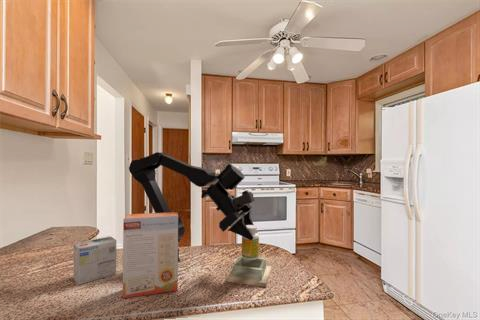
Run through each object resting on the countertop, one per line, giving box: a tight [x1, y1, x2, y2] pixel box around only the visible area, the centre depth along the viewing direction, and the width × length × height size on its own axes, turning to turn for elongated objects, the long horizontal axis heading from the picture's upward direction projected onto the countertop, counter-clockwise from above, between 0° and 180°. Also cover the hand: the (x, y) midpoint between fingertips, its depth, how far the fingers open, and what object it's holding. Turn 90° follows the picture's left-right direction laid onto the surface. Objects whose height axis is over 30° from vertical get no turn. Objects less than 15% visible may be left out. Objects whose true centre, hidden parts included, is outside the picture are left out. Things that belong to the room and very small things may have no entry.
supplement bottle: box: [241, 224, 260, 260], centre depth 77 cm, size 5×5×10 cm
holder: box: [225, 254, 272, 288], centre depth 77 cm, size 12×12×4 cm
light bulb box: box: [73, 235, 117, 286], centre depth 75 cm, size 11×7×11 cm, turn 135°
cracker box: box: [122, 211, 179, 299], centre depth 67 cm, size 14×6×21 cm, turn 106°
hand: (254, 236), depth 77 cm, fingers closed on supplement bottle, 5 cm apart
